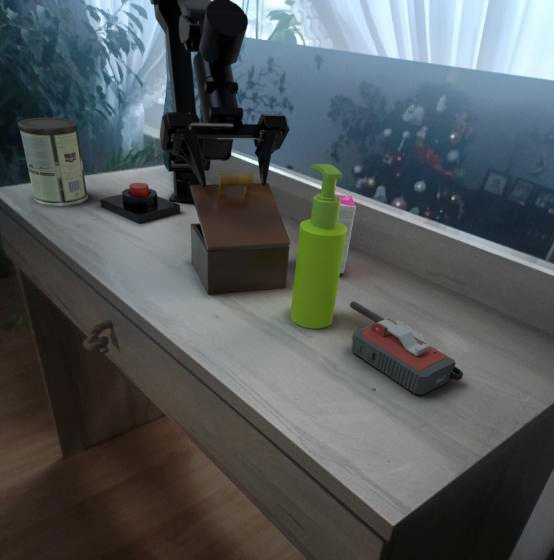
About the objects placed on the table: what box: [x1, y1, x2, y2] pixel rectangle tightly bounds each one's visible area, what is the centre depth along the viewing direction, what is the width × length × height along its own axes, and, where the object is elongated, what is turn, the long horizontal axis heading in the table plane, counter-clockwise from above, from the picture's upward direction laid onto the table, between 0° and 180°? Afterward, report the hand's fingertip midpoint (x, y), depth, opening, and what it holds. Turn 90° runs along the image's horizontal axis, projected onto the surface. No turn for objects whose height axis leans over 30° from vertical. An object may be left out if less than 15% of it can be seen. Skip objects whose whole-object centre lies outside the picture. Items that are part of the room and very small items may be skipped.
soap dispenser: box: [290, 163, 347, 330], centre depth 66 cm, size 6×7×20 cm
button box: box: [99, 188, 181, 225], centre depth 100 cm, size 10×12×4 cm
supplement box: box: [317, 192, 357, 277], centre depth 82 cm, size 6×6×12 cm
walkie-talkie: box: [349, 300, 464, 396], centre depth 65 cm, size 9×4×20 cm
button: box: [128, 182, 150, 196], centre depth 99 cm, size 4×4×2 cm
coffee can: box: [17, 117, 89, 207], centre depth 99 cm, size 10×10×14 cm
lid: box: [190, 173, 291, 251], centre depth 74 cm, size 12×12×4 cm
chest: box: [190, 222, 290, 296], centre depth 79 cm, size 11×12×7 cm
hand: (234, 185), depth 76 cm, fingers open, 9 cm apart
